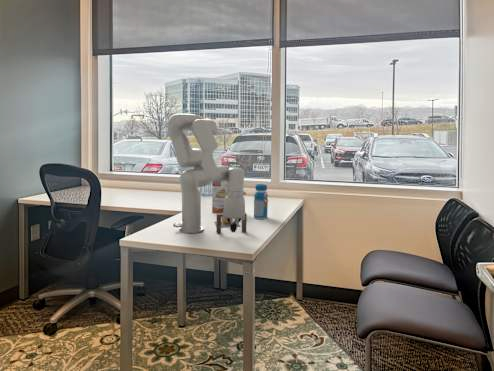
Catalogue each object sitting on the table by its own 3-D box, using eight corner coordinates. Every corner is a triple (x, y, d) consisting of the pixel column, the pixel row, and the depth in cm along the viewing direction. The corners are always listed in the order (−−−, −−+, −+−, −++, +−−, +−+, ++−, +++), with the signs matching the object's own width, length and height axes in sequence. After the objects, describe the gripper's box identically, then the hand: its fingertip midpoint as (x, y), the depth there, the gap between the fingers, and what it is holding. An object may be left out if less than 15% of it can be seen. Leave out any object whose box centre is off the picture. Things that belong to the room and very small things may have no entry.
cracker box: (211, 212, 244) (212, 179, 241) (214, 210, 250) (214, 178, 247) (233, 213, 242) (234, 180, 239) (235, 211, 248) (235, 179, 245)
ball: (221, 224, 218) (222, 223, 212) (220, 214, 219) (221, 212, 213) (231, 224, 219) (233, 222, 213) (230, 213, 220) (232, 211, 215)
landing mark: (216, 227, 207) (216, 227, 207) (214, 221, 220) (214, 221, 220) (240, 226, 210) (240, 226, 209) (236, 221, 222) (236, 221, 222)
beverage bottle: (255, 219, 227) (255, 185, 225) (252, 216, 236) (252, 183, 233) (269, 219, 229) (270, 185, 226) (265, 216, 237) (266, 183, 234)
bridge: (217, 233, 195) (217, 214, 194) (216, 232, 198) (216, 213, 197) (246, 232, 198) (246, 214, 197) (245, 231, 201) (245, 212, 200)
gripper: (249, 192, 188) (247, 229, 191) (218, 192, 185) (216, 229, 188) (252, 196, 180) (249, 234, 183) (220, 195, 178) (218, 233, 181)
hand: (233, 231), depth 186 cm, fingers closed
